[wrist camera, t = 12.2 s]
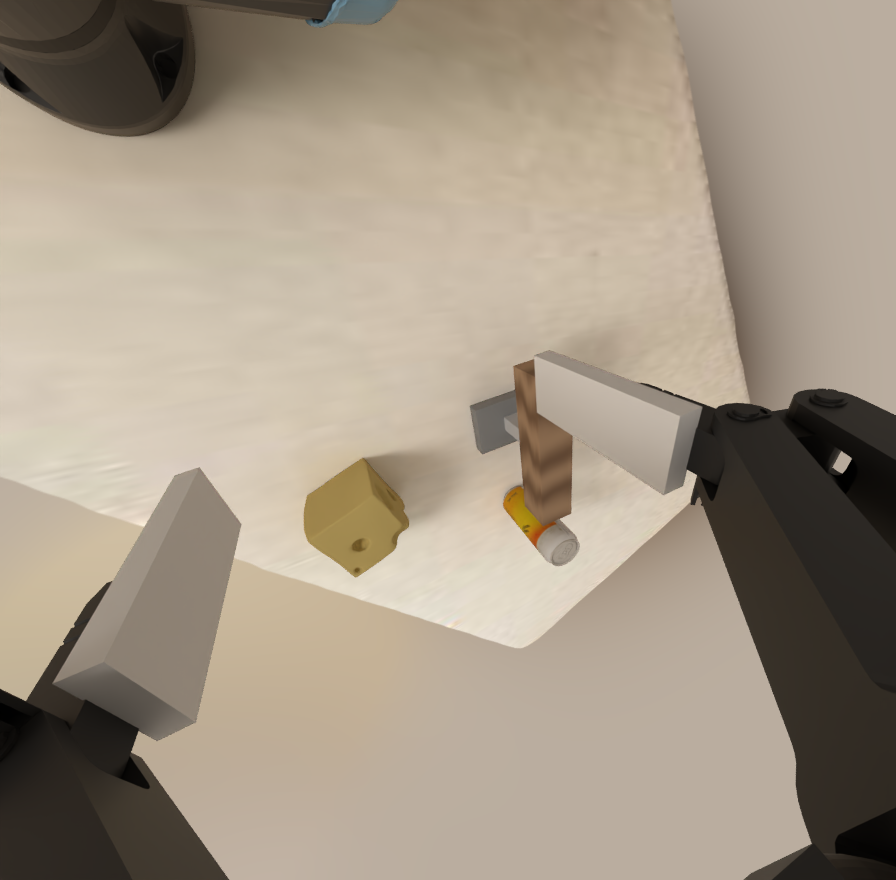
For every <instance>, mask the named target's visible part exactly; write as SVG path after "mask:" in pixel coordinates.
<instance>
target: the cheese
mask: <svg viewBox="0 0 896 880" xmlns="http://www.w3.org/2000/svg"><path fill="white" fill-rule="evenodd" d="M403 510H404V503H403V501H402V499H401V498H400V497H399V496H398V494H397V493H396V492H394V491H393V490H392V489H391V488H390V487H389V486H388V485H387V484H386V483H385V482H384V481H383V480H382V478H381V477H380V476H379V475H378V474H377V473H376V472H375V471H374V469H373V468H372V467H371V466H370V465H369V464H368V463H367V461H366V460H365V459H364V458H362V459H360V460H359V461H357V462H356V463H354V464H353V465H351V466H350V467H348V468H347V469H345V470H344V471H342V472H341V473H339V474H338V475H337V476H335V477H334V478H332V479H331V480H330V481H328V482H327V483H325V484H324V485H323V486H321V487H320V488H318V489H317V490H315V491H314V492H312V493H311V494H309V495H308V496H307V499H306V503H305V508H304V531H305V535H306V537H307V540H308V542H309V543H310V544H311V545H312V546H314V547H315V548H316V549H318V550H319V551H320V552H322V553H324V554H325V555H327V556H328V557H330V558H331V559H333V560H334V561H336V562H337V563H338V564H340V565H341V566H342V567H343V568H345V569H346V570H347V571H348V572H349V573H350V574H352V575H353V576H354V577H358V576H359V575H361V574H362V573H364V572H365V571H367V570H368V569H369V568H371V567H373V566H374V565H375V564H377V563H378V562H379V561H381V560H382V559H383V558H385V557H386V556H387V555H389V554H390V553H391V552H393V551H394V549H395V548H396V545H397V538H398V536H399V534H400V533H401V532H402V531H404V530H405V529H407V528H408V527H409V520H408V518H407V516H406V514H405V513H404V511H403Z"/></svg>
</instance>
